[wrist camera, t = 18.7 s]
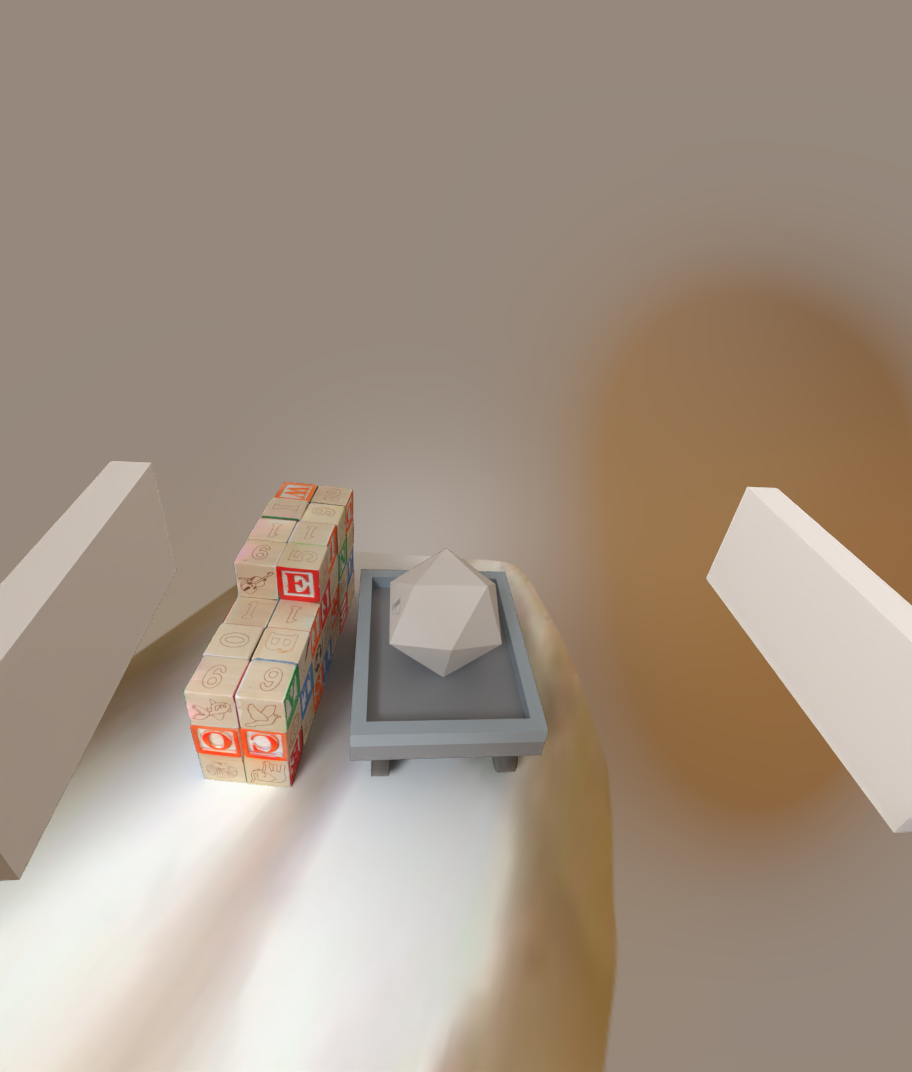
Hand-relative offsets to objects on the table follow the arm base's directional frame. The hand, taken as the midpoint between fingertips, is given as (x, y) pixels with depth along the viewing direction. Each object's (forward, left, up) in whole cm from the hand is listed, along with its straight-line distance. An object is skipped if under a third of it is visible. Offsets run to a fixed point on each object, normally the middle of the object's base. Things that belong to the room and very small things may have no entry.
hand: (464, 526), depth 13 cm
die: (+3, +20, -25) cm, 32 cm away
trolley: (+3, +20, -30) cm, 36 cm away
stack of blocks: (-9, +23, -30) cm, 39 cm away
